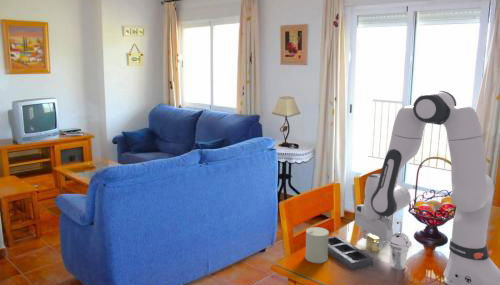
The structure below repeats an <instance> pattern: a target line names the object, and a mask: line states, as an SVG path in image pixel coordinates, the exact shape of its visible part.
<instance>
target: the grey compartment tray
mask: <svg viewBox="0 0 500 285" xmlns="http://www.w3.org/2000/svg"><path fill="white" fill-rule="evenodd" d="M328 255H330V256H331V257H333V258H335V259H336V260H337V261H338V262H340V263H341V264H342V265H344V266H345V267H347V268H348V269H349V270H351V271H353V270H357V269H361V268H362V269H363V268H367V267H371V266H374V257H372V256H371V255H369V254H368V253H366V252H365V251H363V250H361V249H360V248H358V247H357V246H355V245H353V244H352V243H350V242H349V241H347V240H345V239H344V238H343V237H340V236H339V235H335V236H334V235H333V236H328ZM357 259H358V260H357Z"/></svg>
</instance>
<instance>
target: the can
mask: <svg viewBox="0 0 500 285" xmlns="http://www.w3.org/2000/svg"><path fill="white" fill-rule="evenodd" d="M329 234H330V232H329V230H328V229H326V228H324V227H319V226H313V227H308V228H306V230H305V256H304V258H305V261H308V262H310V263H311V264H323V263H326V262H328V260H329V257H328V256H329V253H328V237H330V235H329Z"/></svg>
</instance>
